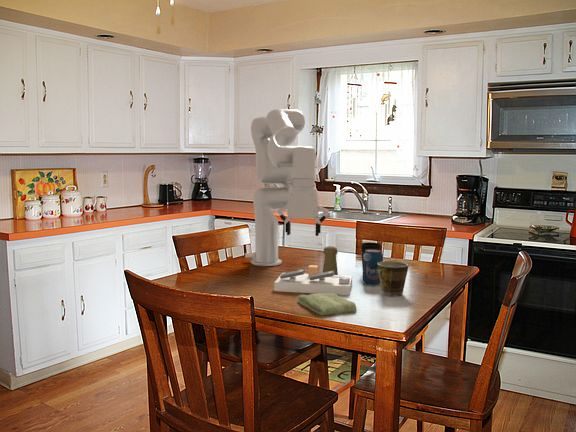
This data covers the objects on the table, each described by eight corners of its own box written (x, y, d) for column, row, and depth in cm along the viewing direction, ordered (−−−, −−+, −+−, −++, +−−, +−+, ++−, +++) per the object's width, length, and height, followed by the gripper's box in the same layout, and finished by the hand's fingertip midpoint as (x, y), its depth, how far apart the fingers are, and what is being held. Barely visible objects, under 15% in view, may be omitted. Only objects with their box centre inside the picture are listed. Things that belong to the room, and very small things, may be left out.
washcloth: (332, 298, 177) (332, 288, 177) (359, 313, 161) (359, 303, 160) (294, 302, 172) (294, 292, 172) (319, 318, 156) (319, 307, 155)
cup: (357, 276, 207) (357, 244, 205) (364, 272, 213) (364, 241, 212) (376, 278, 203) (377, 246, 202) (383, 274, 210) (384, 243, 208)
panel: (274, 291, 184) (274, 277, 183) (282, 280, 198) (282, 268, 198) (349, 295, 179) (349, 281, 179) (352, 284, 194) (352, 271, 194)
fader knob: (308, 275, 192) (308, 266, 192) (309, 273, 195) (309, 265, 194) (316, 275, 191) (317, 267, 191) (317, 273, 194) (318, 265, 194)
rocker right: (310, 280, 183) (309, 277, 183) (311, 277, 187) (310, 274, 187) (333, 275, 182) (332, 272, 182) (334, 273, 186) (333, 270, 186)
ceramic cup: (386, 288, 189) (387, 259, 188) (412, 293, 183) (413, 263, 181) (366, 295, 179) (367, 265, 178) (393, 301, 173) (394, 270, 171)
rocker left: (280, 279, 185) (279, 276, 185) (282, 276, 189) (282, 273, 189) (303, 274, 183) (302, 271, 183) (305, 271, 187) (304, 268, 187)
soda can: (367, 286, 191) (368, 252, 190) (359, 281, 198) (360, 249, 196) (385, 285, 193) (386, 251, 192) (377, 280, 200) (378, 248, 198)
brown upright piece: (337, 277, 204) (337, 248, 203) (321, 276, 206) (321, 247, 204) (338, 273, 210) (339, 245, 209) (323, 273, 211) (323, 244, 210)
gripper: (275, 184, 180) (275, 235, 182) (328, 184, 177) (327, 237, 179) (279, 182, 187) (279, 232, 189) (330, 183, 184) (329, 234, 186)
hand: (302, 235), depth 184 cm, fingers open, 9 cm apart
